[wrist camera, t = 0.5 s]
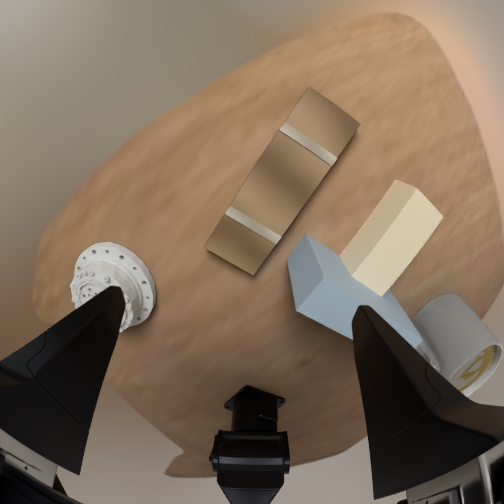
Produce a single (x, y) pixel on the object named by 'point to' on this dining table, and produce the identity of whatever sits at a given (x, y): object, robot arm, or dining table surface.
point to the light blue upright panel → (364, 264)
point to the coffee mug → (457, 342)
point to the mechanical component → (115, 280)
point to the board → (282, 181)
